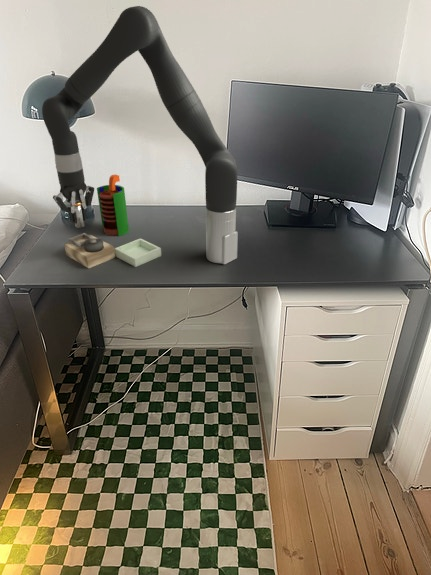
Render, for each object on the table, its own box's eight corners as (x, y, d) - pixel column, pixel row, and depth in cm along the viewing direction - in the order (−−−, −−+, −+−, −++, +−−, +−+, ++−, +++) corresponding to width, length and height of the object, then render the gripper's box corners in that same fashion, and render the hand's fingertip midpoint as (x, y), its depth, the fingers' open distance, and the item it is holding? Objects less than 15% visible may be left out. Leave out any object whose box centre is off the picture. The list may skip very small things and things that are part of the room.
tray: (161, 255, 148) (160, 248, 147) (135, 267, 142) (134, 259, 140) (141, 245, 154) (140, 238, 153) (115, 256, 148) (114, 248, 146)
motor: (97, 232, 164) (89, 178, 153) (112, 223, 171) (106, 171, 160) (119, 237, 160) (112, 182, 149) (134, 228, 167) (129, 175, 156)
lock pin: (87, 225, 145) (83, 202, 141) (78, 228, 143) (73, 205, 139) (81, 222, 147) (77, 199, 143) (72, 226, 145) (68, 202, 141)
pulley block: (115, 257, 147) (112, 238, 143) (88, 268, 141) (85, 248, 137) (91, 245, 155) (88, 226, 151) (65, 254, 149) (61, 235, 145)
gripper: (54, 175, 129) (65, 231, 138) (96, 164, 137) (104, 218, 146) (41, 170, 133) (53, 224, 142) (83, 160, 142) (91, 212, 151)
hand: (79, 221), depth 144 cm, fingers closed on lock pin, 2 cm apart
